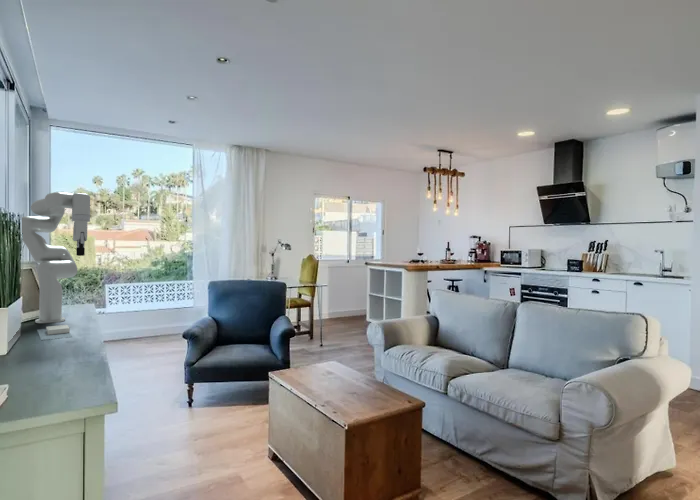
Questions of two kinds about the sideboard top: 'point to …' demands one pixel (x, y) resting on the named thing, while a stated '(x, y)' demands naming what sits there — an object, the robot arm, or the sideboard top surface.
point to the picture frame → (57, 329)
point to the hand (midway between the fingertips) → (80, 255)
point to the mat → (52, 335)
